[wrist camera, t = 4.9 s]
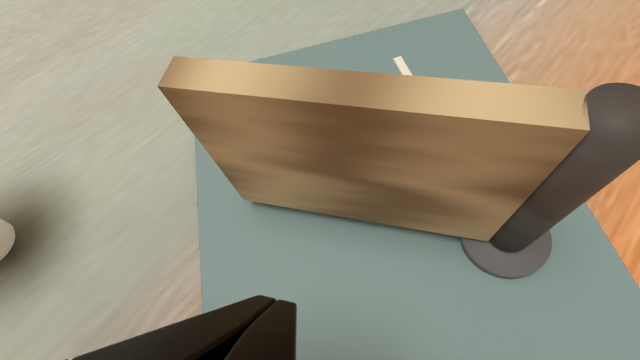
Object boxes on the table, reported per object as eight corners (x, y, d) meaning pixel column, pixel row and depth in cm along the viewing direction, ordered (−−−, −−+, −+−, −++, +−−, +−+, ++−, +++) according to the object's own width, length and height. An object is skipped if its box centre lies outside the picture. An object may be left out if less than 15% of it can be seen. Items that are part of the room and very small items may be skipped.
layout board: (702, 402, 13) (727, 404, 12) (215, 514, 13) (204, 525, 12) (461, 13, 23) (464, 0, 22) (194, 80, 24) (188, 69, 23)
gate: (531, 215, 15) (666, 86, 8) (532, 256, 15) (682, 151, 8) (252, 173, 18) (177, 49, 11) (241, 205, 17) (153, 94, 10)
